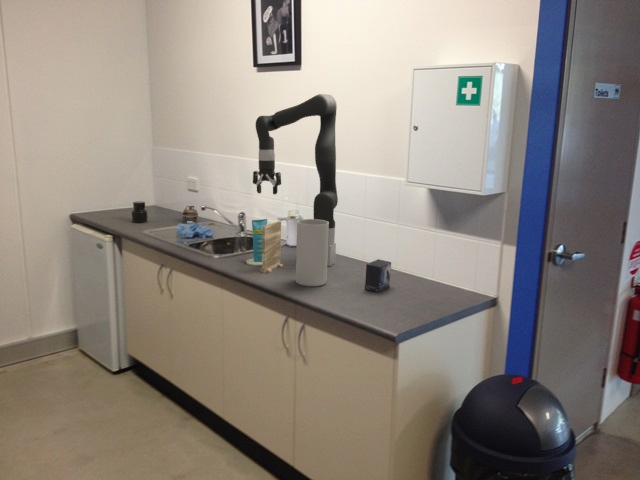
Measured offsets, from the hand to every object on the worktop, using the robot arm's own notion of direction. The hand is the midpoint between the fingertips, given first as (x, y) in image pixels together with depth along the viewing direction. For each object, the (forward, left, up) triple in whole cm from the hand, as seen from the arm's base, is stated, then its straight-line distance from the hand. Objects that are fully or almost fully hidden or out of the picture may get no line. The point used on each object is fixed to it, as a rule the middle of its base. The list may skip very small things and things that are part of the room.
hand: (267, 193), depth 272 cm
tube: (-6, +17, -29) cm, 34 cm away
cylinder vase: (-40, +33, -29) cm, 60 cm away
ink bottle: (+104, -29, -29) cm, 112 cm away
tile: (-6, +17, -29) cm, 34 cm away
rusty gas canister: (+79, -45, -29) cm, 95 cm away
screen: (-16, +23, -29) cm, 41 cm away
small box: (-66, +26, -30) cm, 77 cm away
